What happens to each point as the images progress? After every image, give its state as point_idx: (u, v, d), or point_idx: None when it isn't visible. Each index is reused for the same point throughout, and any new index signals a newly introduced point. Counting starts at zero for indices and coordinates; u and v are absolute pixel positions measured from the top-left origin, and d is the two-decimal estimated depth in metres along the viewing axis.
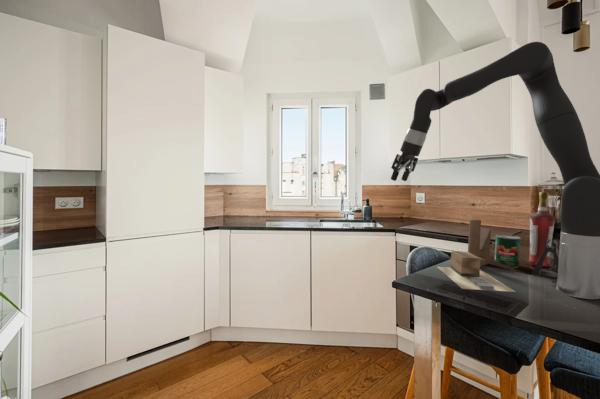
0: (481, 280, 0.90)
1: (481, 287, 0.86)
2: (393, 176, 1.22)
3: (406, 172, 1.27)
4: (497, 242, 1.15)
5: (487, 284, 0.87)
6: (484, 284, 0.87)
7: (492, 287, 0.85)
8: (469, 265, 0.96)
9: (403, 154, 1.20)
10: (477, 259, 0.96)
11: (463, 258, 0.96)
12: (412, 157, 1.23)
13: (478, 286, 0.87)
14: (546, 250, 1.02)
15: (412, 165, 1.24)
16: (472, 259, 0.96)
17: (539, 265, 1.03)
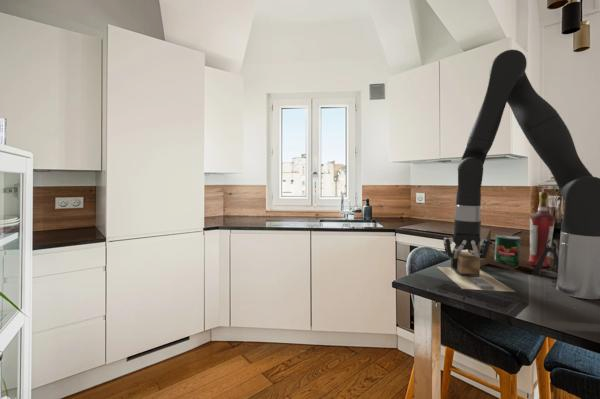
0: (481, 280, 0.90)
1: (481, 287, 0.86)
2: None
3: None
4: (497, 242, 1.15)
5: (487, 284, 0.87)
6: (484, 284, 0.87)
7: (492, 287, 0.85)
8: (469, 265, 0.96)
9: (454, 234, 1.01)
10: (477, 259, 0.96)
11: (463, 258, 0.96)
12: (473, 237, 0.99)
13: (478, 286, 0.87)
14: (546, 250, 1.02)
15: (476, 248, 0.98)
16: (472, 259, 0.96)
17: (539, 265, 1.03)
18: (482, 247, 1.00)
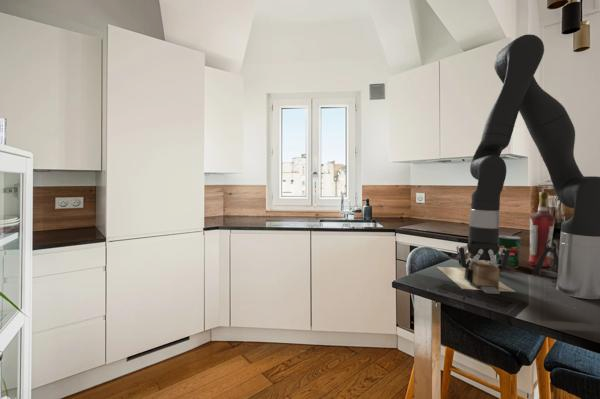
0: (492, 288, 0.83)
1: None
2: None
3: None
4: None
5: None
6: None
7: None
8: (486, 277, 0.85)
9: (469, 242, 0.89)
10: (496, 269, 0.84)
11: (480, 268, 0.85)
12: (491, 246, 0.87)
13: None
14: (546, 250, 1.02)
15: (494, 259, 0.87)
16: (490, 269, 0.85)
17: (539, 265, 1.03)
18: (501, 257, 0.88)
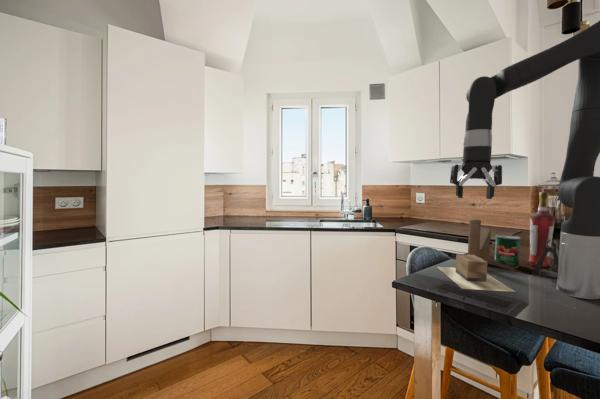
0: None
1: None
2: None
3: (488, 187, 0.94)
4: (497, 242, 1.15)
5: None
6: None
7: None
8: (475, 270, 0.92)
9: (463, 163, 0.95)
10: (484, 263, 0.91)
11: (469, 262, 0.92)
12: (484, 164, 0.93)
13: None
14: (546, 250, 1.02)
15: (489, 175, 0.92)
16: (479, 263, 0.92)
17: (539, 265, 1.03)
18: (495, 174, 0.94)
